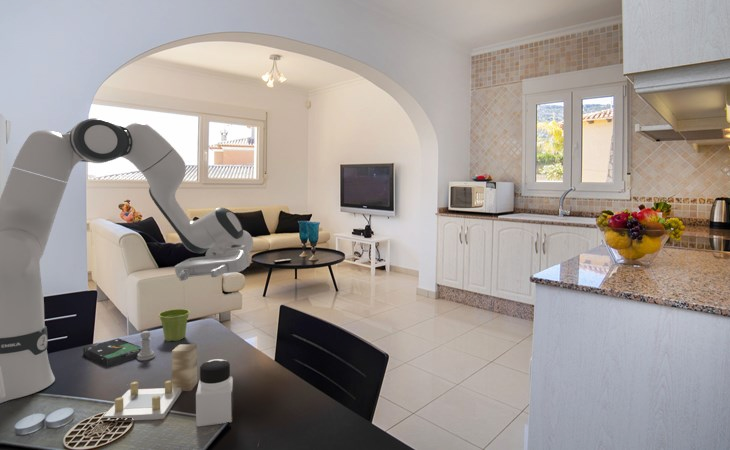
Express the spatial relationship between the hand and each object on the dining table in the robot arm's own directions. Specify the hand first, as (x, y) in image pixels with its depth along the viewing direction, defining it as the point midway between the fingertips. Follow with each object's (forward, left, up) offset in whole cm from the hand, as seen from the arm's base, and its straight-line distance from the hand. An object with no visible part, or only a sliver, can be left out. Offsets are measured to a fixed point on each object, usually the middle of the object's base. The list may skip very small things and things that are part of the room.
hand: (197, 276), depth 110 cm
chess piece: (-18, +11, -26) cm, 34 cm away
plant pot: (-15, +27, -26) cm, 41 cm away
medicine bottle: (+10, -24, -26) cm, 37 cm away
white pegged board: (-7, -18, -26) cm, 32 cm away
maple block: (-1, -9, -26) cm, 28 cm away
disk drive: (-28, +14, -27) cm, 41 cm away
